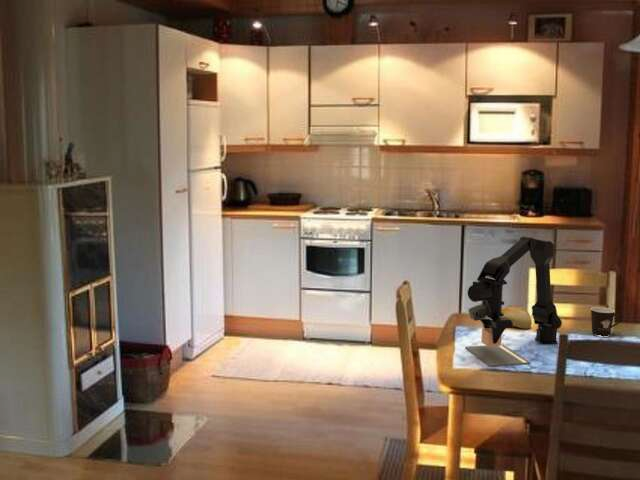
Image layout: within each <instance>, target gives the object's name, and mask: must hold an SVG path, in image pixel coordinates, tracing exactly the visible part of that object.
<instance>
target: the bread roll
mask: <svg viewBox="0 0 640 480" xmlns="http://www.w3.org/2000/svg"><path fill="white" fill-rule="evenodd" d="M501 312H502V313H504V316H500V317H507V318H508V319H510V320H511V321H512V322H513V327H515V328H520V329H524V330H527V329H528V330H529V329H530V328H531V326H532V317H531V315H530V313H529V311H528V310H527V309H526V308H524V307H523V306H517V305H508V306H505V307H503V308H502V309H501ZM500 317H499V318H500Z"/></svg>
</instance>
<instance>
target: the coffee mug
mask: <svg viewBox="0 0 640 480" xmlns="http://www.w3.org/2000/svg"><path fill="white" fill-rule="evenodd" d="M615 311H616V310H615V309H612V308H608V307H603V306H595V307H591V308H590V315H591V316H590V317H591V318H590V319H591V334H592V333H593V334H596V335H601V336H608V335H610V336H611V332H612V331H611V330H612V328H614V327H615V326H617V325H618V324H620V323H621V322H622V321H623V315H622V314H621V313H620V312H615ZM617 315H618V316H619V315H620V319H619V320H618V321H617V322H616V323H614V324H613V321H614V317H615V316H617Z"/></svg>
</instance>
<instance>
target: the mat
mask: <svg viewBox="0 0 640 480" xmlns="http://www.w3.org/2000/svg"><path fill="white" fill-rule="evenodd" d="M464 349H465V350H466V351H468V352H469V351H470V352H469V353H471V354H472V355H474V356H475V357H476V358H478V359H479V360H481V361H482V362H483V363H484V364H486V365H487V366H488V367H490V368H492V367H504V366H505V367H507V366H517V365H518V366H519V365H520V366H521V365H531V361H529V360H528V359H526V358H525V357H523V356H521V355H520V354H519V353H517V352H515V351H514V350H512V349H511V348H509V347H508V346H506V345H504V344H503V343H501V346H486V345H472V346H464Z"/></svg>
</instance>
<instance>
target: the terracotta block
mask: <svg viewBox="0 0 640 480" xmlns="http://www.w3.org/2000/svg"><path fill="white" fill-rule="evenodd" d="M502 335H503V334H502ZM502 335H501V336H500V338H499V340H498V341H497V343H496V344H494V343H493V336H492V329H491V328H484V327H483V328H482V327H481V343H482V344H483V345H484V346H501V345H502Z"/></svg>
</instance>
